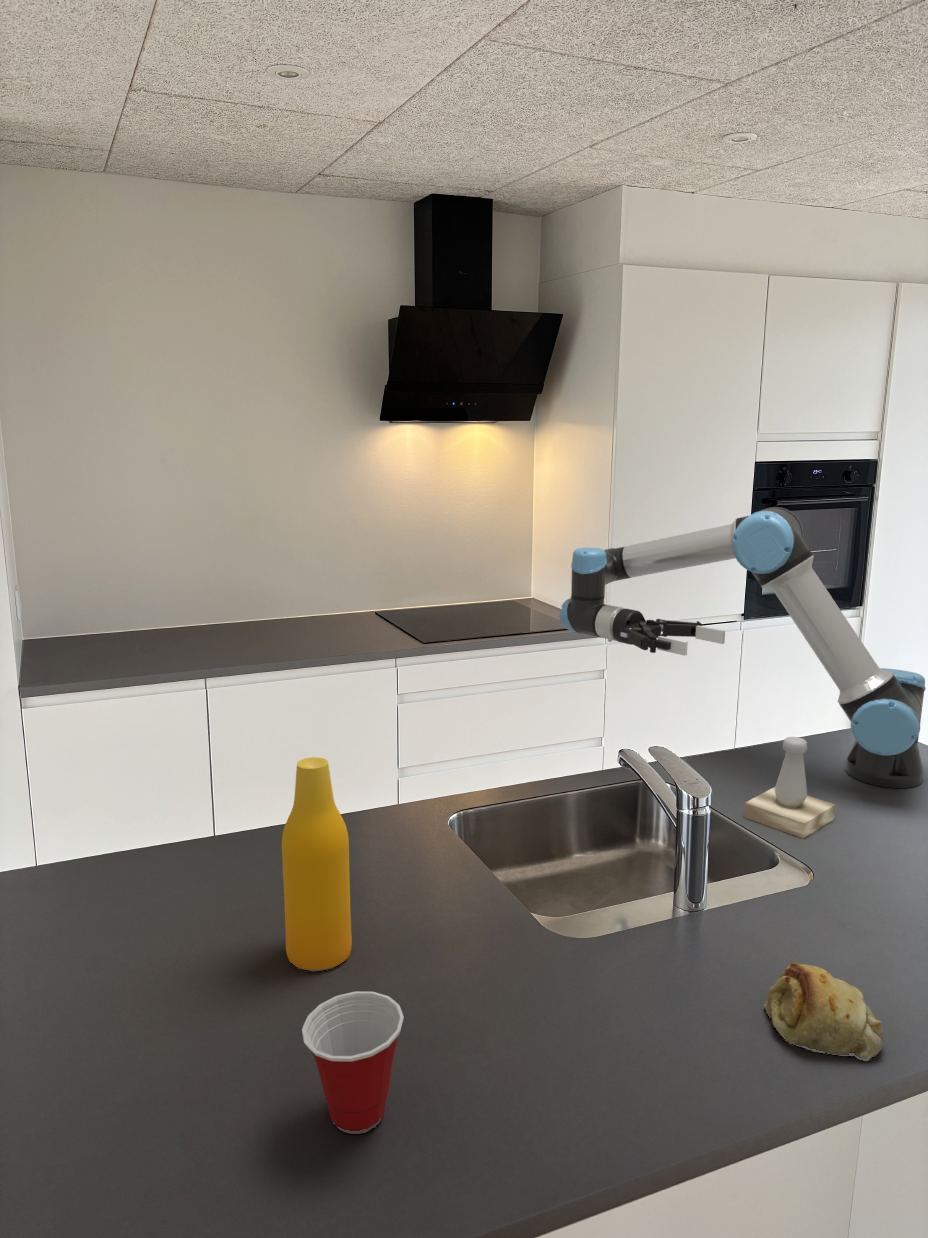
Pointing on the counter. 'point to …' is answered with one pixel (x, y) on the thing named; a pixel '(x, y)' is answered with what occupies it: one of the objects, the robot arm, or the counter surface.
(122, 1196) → the counter surface
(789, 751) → the salt shaker
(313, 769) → the beer bottle
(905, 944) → the counter surface
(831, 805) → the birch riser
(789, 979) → the pastry
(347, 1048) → the plastic cup
